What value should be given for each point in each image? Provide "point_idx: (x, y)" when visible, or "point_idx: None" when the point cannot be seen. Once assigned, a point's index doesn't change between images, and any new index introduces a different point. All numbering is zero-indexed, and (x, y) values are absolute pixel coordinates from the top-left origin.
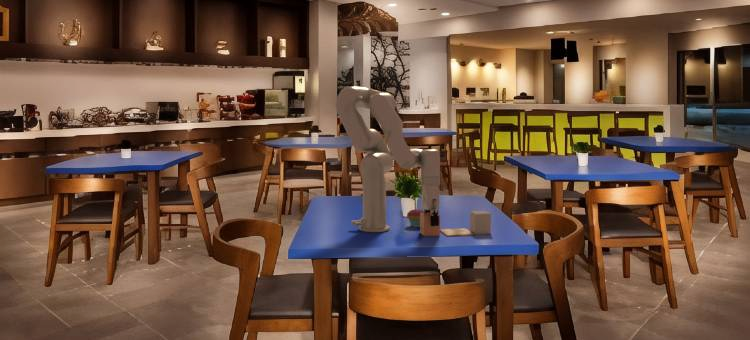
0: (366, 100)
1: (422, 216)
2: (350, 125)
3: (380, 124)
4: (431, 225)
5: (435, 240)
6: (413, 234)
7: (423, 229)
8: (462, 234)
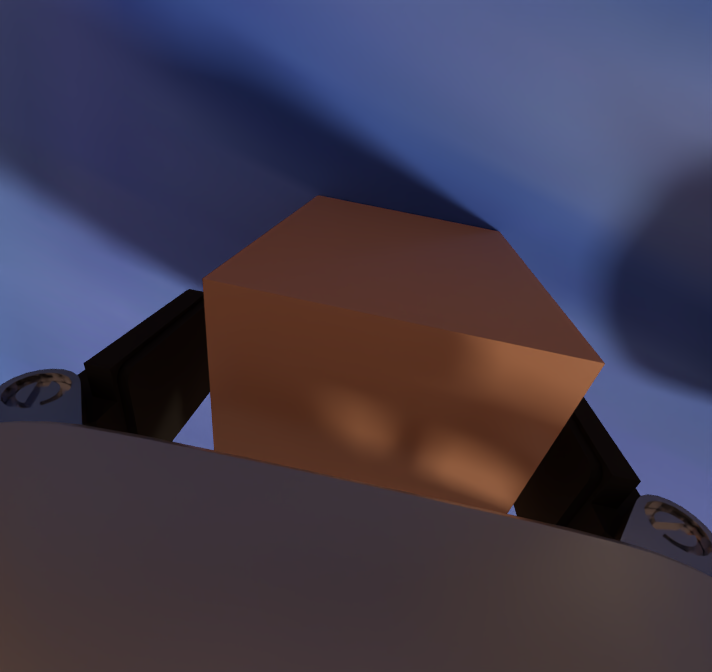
0: None
1: (363, 294)
2: None
3: None
4: (191, 295)
5: (113, 218)
6: (459, 107)
7: (327, 215)
8: None
